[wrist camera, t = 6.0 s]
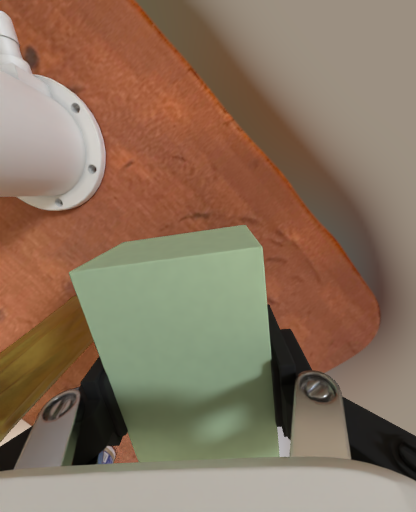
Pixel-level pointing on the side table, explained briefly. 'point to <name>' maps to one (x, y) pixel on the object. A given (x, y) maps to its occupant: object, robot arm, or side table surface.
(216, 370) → the pale sage-green block
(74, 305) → the vase
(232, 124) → the side table surface
